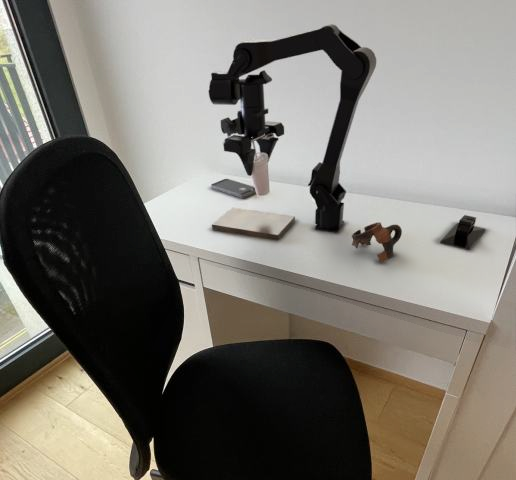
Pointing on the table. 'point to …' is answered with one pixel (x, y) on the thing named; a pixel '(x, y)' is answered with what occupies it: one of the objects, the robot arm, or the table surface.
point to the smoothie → (260, 173)
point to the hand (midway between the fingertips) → (257, 171)
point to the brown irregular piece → (378, 238)
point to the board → (254, 223)
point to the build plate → (463, 233)
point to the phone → (234, 188)
